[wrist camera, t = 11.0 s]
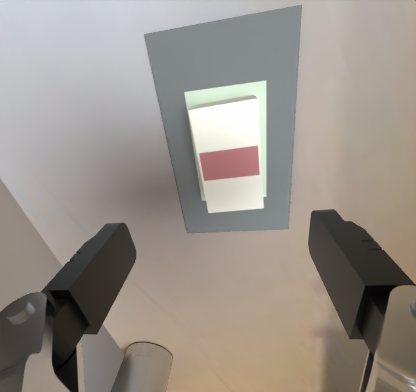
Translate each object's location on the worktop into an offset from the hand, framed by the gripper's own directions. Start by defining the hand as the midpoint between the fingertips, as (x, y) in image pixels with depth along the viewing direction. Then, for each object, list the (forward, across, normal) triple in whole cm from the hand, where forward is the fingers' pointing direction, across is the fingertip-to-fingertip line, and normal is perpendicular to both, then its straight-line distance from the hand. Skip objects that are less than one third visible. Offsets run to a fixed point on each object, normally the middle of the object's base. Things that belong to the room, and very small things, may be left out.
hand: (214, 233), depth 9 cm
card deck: (+13, -1, 0) cm, 13 cm away
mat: (+14, -1, 0) cm, 14 cm away
